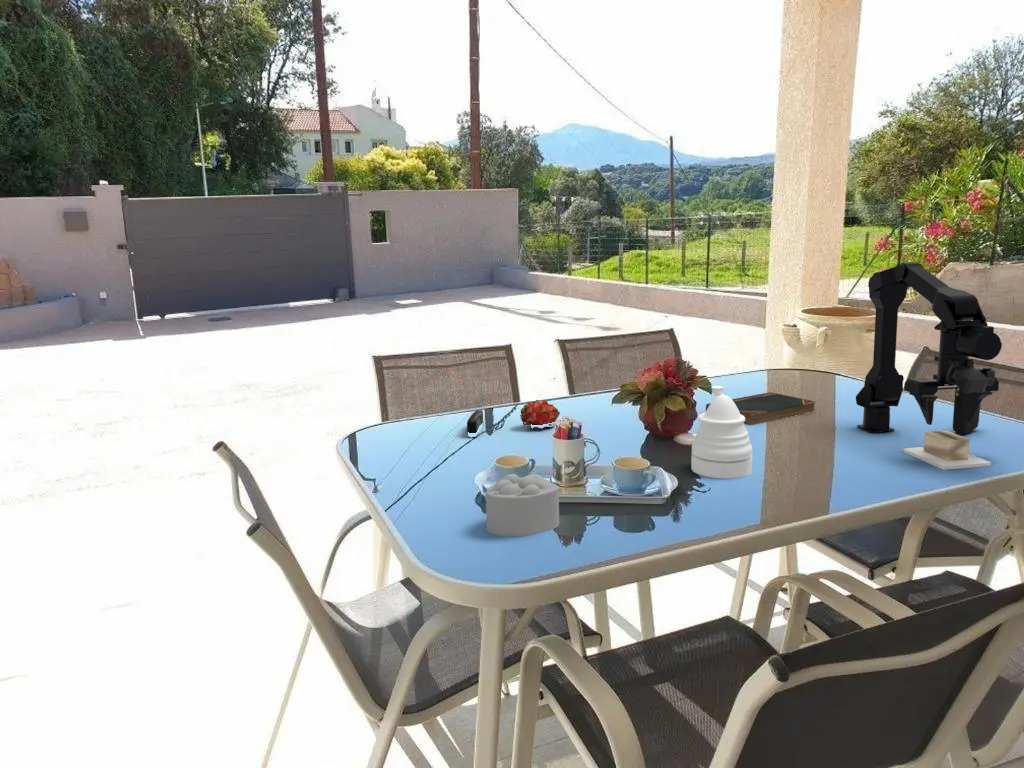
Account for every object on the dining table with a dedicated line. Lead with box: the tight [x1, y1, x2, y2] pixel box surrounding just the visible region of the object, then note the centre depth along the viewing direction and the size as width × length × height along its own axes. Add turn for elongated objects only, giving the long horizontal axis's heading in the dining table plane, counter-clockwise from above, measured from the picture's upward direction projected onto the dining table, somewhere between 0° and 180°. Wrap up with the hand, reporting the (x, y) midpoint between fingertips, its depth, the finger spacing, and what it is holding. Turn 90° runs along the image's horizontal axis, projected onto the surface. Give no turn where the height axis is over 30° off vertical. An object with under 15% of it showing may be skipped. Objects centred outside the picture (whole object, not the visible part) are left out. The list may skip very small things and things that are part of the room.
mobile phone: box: [466, 409, 484, 433], centre depth 213 cm, size 5×3×15 cm
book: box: [705, 392, 817, 426], centre depth 224 cm, size 17×4×25 cm
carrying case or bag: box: [952, 388, 982, 436], centre depth 195 cm, size 11×3×15 cm, turn 127°
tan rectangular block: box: [923, 429, 971, 461], centre depth 176 cm, size 5×8×5 cm, turn 8°
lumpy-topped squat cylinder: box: [485, 473, 560, 537], centre depth 145 cm, size 10×13×9 cm
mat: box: [902, 446, 992, 471], centre depth 177 cm, size 14×11×1 cm
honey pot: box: [690, 385, 753, 480], centre depth 173 cm, size 13×13×18 cm
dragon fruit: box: [519, 399, 561, 426], centre depth 214 cm, size 8×8×12 cm
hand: (948, 423), depth 175 cm, fingers open, 9 cm apart
